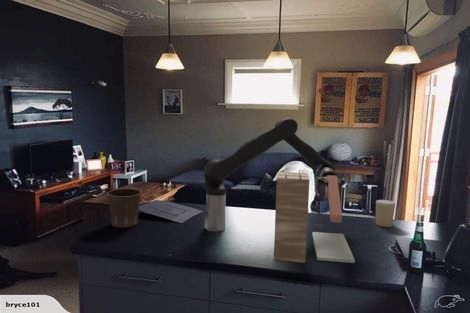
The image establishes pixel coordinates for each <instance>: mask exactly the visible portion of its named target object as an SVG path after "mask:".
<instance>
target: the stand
mask: <svg viewBox="0 0 470 313" xmlns="http://www.w3.org/2000/svg"><path fill="white" fill-rule="evenodd" d="M309 197H310V177H309V174H308V172H307V173H303V172H301V170H300V169H299V170H298V172H287V169H285V172H282V171H281V172H280V171H277V176H276V192H275V212H274V213H275V215H274V216H275V219H274V220H275V221H274V244H273V261H279V262H292V263H303V264H305V263H306V259H307V258H306V257H307V255H306V254H307V241H308V240H307V237H308V235H307V234H308V220H309V215H308V214H309Z"/></svg>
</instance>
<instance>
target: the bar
mask: <svg viewBox="0 0 470 313" xmlns="http://www.w3.org/2000/svg"><path fill="white" fill-rule="evenodd" d="M337 176H338V175H337ZM337 176H331V175H328V176H327V180H328V182H329V183H328V187H327V186H326V190H327V197H328V199H327V200H328V208H329V216H330V217H329V218H330V223H337V224H338V223H342V220H343V212H342V205H341V204H342V203H341V196H340V190H339V188H340V187H338V181H337Z"/></svg>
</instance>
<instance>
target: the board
mask: <svg viewBox="0 0 470 313" xmlns="http://www.w3.org/2000/svg"><path fill="white" fill-rule="evenodd" d="M311 235H312V240H313V245H314V250H315V255H316V259H317V260H316V261H322V262H323V261H324V262H325V261H326V262H337V263H351V264H356V263H355V262H356V259H355V257H354V255H353V253H352V251H351V248H350V246H349V244H348V242H347V240H346V237H345V235H344V234H343V233H334V232H333V233H332V232H320V231H312V233H311Z"/></svg>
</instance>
